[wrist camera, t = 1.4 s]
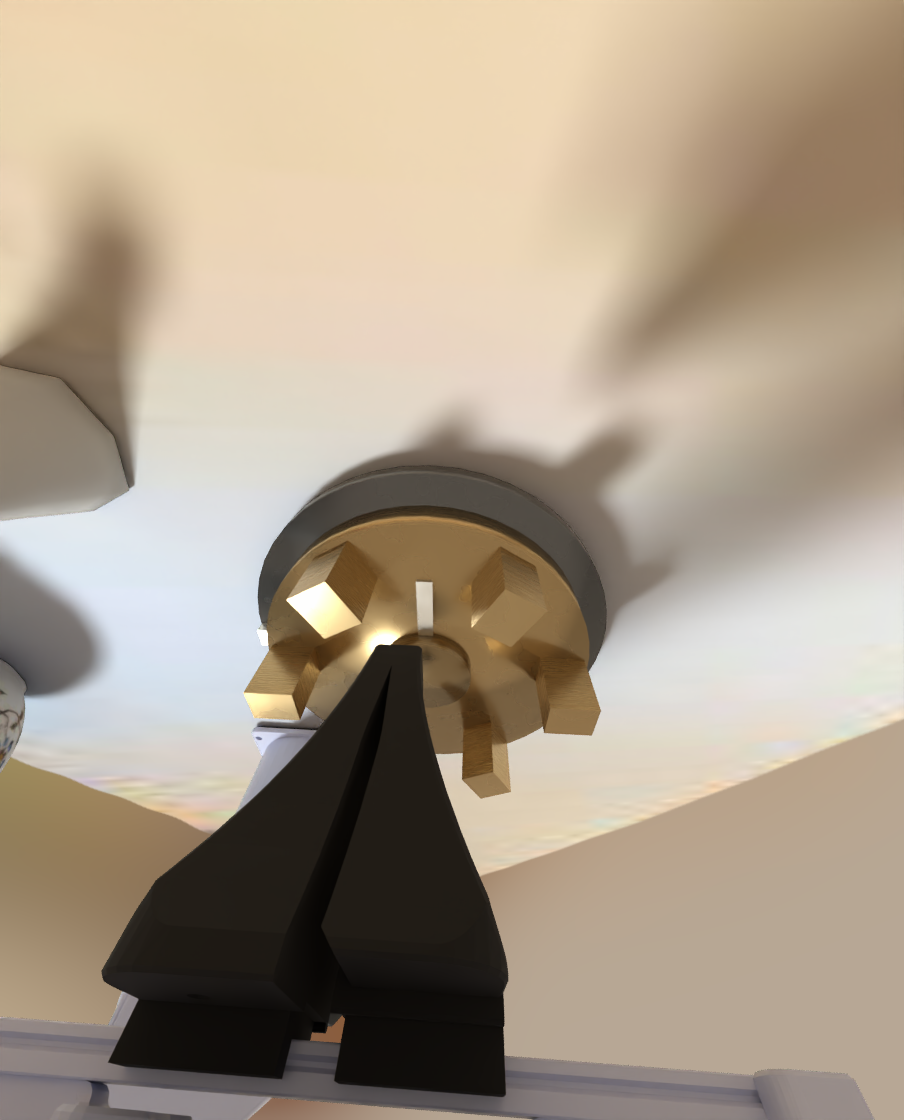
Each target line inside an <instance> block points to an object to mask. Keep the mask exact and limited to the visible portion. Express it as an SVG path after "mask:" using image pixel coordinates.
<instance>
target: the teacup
mask: <svg viewBox="0 0 904 1120" xmlns="http://www.w3.org/2000/svg"><path fill="white" fill-rule="evenodd" d="M26 690H27V688H26V684H25V681H24V680H23V679H22V678H21V677H20V675H19V674H18V673H17V672H16V671H15V670H14V669H13V668H12V667H11V666H10V665H9V664H7V663H6V662H4V661H2V660H0V773H1V771H2V770H3V768H4V767H5V765H6V763H7V762H8V760H9V758H10V757H11V755H12V753H13V751H14V749H15V747H16V745H17V743H18V740H19V738H20V735H21V732H22V728H23V723H24V718H25V700H24V693H25V691H26Z"/></svg>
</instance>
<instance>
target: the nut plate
mask: <svg viewBox="0 0 904 1120" xmlns="http://www.w3.org/2000/svg"><path fill="white" fill-rule="evenodd" d="M420 505H430V506H440V507H450V508H456V509H460V510H465V511H469V512H474V513H477V514H480V515H483V516H486V517H489V518H492V519H495V520H497V521H499V522H501V523H503V524H505V525H507V526H509V527H511V528H513V529H515V530H518V531H519V532H521V533H522V534H524V535H525V536H526V537H528V538H529V539H531V540H532V541H534V542H535V543H537V544H538V545H539V546H540V547H541V548H542V549H543V550H544V551H545V552H547V553H548V554H549V555H550V556H551V557H552V558H553V560H554V561H555V562H556V563H557V564H558V566H559V567H560V568H561V569H562V570H563V572H564V574H565V575H566V577H567V579H568V581H569V582H570V584H571V586H572V588H573V591H574V593H575V596H576V599H577V601H578V604H579V607H580V610H581V612H582V615H583V618H584V621H585V623H586V626H587V631H588V637H589V661H588V666H587V670H588V672H589V670H590V669H591V667H592V665H593V664H594V662H595V660H596V658H597V655H598V653H599V651H600V648H601V646H602V642H603V638H604V634H605V629H606V603H605V596H604V591H603V588H602V585H601V581H600V578H599V575H598V573H597V571H596V569H595V566H594V564H593V562H592V560H591V559H590V557H589V555H588V553H587V551H586V549H585V547H584V545H583V543H582V542H581V541H580V539H579V538H578V537H577V536H576V534H575V533H574V532H573V530H572V529H571V528H570V526H569V525H568V524H567V523H566V522H565V521H563V520H562V519H561V518H560V517H559V516H558V515H557V514H556V513H555V512H554V511H553V510H552V509H550V508H549V507H548V506H546V505H545V504H544V503H542V502H541V501H539V500H538V499H537V498H535V497H534V496H532V495H530V494H528V493H527V492H525V491H523V490H521V489H519V488H517V487H515V486H513V485H511V484H509V483H507V482H504V481H501V480H498V479H496V478H493V477H490V476H487V475H485V474H481V473H476V472H472V471H467V470H463V469H459V468H450V467H439V466H402V467H396V468H390V469H384V470H378V471H374V472H370V473H367V474H364V475H361V476H357V477H354V478H351V479H349V480H347V481H345V482H343V483H340V484H338V485H336V486H334V487H332V488H330V489H328V490H327V491H325V492H324V493H322V494H321V495H319V496H318V497H316V498H315V499H313V500H312V501H310V502H309V503H308V504H307V505H306V506H305V507H304V508H303V509H302V510H301V511H300V512H299V513H298V514H297V515H295V516H294V518H293V519H292V520H291V521H290V522H289V523H288V524H287V526H286V527H285V528H284V529H283V531H282V532H281V533H280V535H279V536H278V537H277V539H276V540H275V541H274V543H273V544H272V546H271V548H270V550H269V552H268V554H267V556H266V558H265V560H264V564H263V567H262V571H261V574H260V578H259V587H258V605H259V615H260V618H261V622H262V624H261V626H260V627H259V629H258V630H257V632H258V634H259V637H260V640H261V643H262V645H268V641H267V620H268V612H269V609H270V606H271V603H272V600H273V597H274V595H275V593H276V591H277V590H278V588H279V586H280V584H281V582H282V581H283V580H284V578H285V577H286V575H287V574H288V573H289V571H290V570H291V568H292V567H293V566H294V564H295V563H296V561H297V560H298V559H299V558H300V556H301V555H302V554H303V553H304V551H305V550H306V549H307V548H308V547H309V546H310V545H311V544H312V543H313V542H314V541H316V540H317V539H318V538H319V537H320V536H321V535H323V534H324V533H326V532H327V531H329V530H331V529H332V528H334V527H335V526H337V525H339V524H341V523H343V522H345V521H347V520H350V519H352V518H354V517H357V516H359V515H362V514H366V513H369V512H373V511H376V510H380V509H386V508H393V507H400V506H420Z"/></svg>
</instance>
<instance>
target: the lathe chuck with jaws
mask: <svg viewBox="0 0 904 1120" xmlns="http://www.w3.org/2000/svg"><path fill="white" fill-rule="evenodd" d="M267 641H268V646H269V652H268V653H267V655H266V657H265V658H264V660H263V662H262V663H261V665H260V666H259V668H258V670H257V671H256V673H255V675H254V676H253V678H252V680H251V681H250V683H249V685H248V686H247V688H246V690H245V691H244V695H245V697H246V700H247V702H248V704H249V707H250V709H251V711H252V714H253V716H254V718H268V719H287V720H300V719H301V716H302V714H303V712H304V709H305V707H307V708H308V709H309V710H311V711H312V712H313V713H315V714H316V715H317V716H318V717H320V718H321V719H323V720H324V721H325V720H326V718H327V717H328V716H329V715H330V713H331V712H332V711H333V710H334V708H335V707H336V706H337V704H338V703H339V702H340V700H341V699H342V698H343V696H344V695H345V693H346V692H347V691H348V689H349V688H350V686H351V685H352V683H353V682H354V681H355V679H356V678H357V676H358V675H359V673H360V672H361V670H362V668H363V667H364V665H365V664H366V662H367V660H368V659H369V657H370V655H371V654H372V652H373V650H374V648H375V647H376V646H377V645H378V644H393V645H414V646H419V647H421V648H422V659H423V699H424V705H425V711H426V716H427V721H428V726H429V730H430V735H431V739H432V743H433V747H434V751H435V754H452V753H463V766H462V780H463V781H464V782H465V783H466V784H467V785H468V786H469V787H470V788H471V789H472V790H473V791H474V792H475V793H476V794H477V795H478V796H479V797H480V798H485V797H490V796H494V795H499V794H503V793H508V792H511V789H510V776H509V763H508V751H507V743H510V742H513V741H515V740H517V739H520V738H522V737H525V736H527V735H528V734H530V733H532V732H534V731H536V730H538V729H540V728H541V727H542V726H543V729H544V733H554V734H574V735H592V733H593V731H594V728H595V725H596V723H597V720H598V717H599V715H600V712H601V710H600V707H599V704H598V701H597V697H596V694H595V691H594V688H593V685H592V682H591V679H590V676H589V673H588V670H587V666H588V661H589V637H588V631H587V626H586V623H585V621H584V618H583V615H582V612H581V610H580V607H579V604H578V601H577V599H576V596H575V593H574V591H573V588H572V586H571V584H570V582H569V581H568V579H567V577H566V575H565V574H564V572H563V570H562V569H561V568H560V567H559V566H558V564H557V563H556V562H555V561H554V560H553V558H552V557H551V556H550V555H549V554H548V553H547V552H545V551H544V550H543V549H542V548H541V547H540V546H539V545H538V544H537V543H535V542H534V541H532V540H531V539H529V538H528V537H526V536H525V535H524V534H522V533H521V532H519V531H518V530H515V529H513V528H511V527H509V526H507V525H505V524H503V523H501V522H499V521H497V520H495V519H492V518H489V517H486V516H483V515H480V514H477V513H474V512H469V511H465V510H460V509H456V508H450V507H440V506H430V505H420V506H400V507H393V508H386V509H380V510H376V511H373V512H369V513H366V514H362V515H359V516H357V517H354V518H352V519H350V520H347V521H345V522H343V523H341V524H339V525H337V526H335V527H334V528H332V529H331V530H329V531H327V532H326V533H324V534H323V535H321V536H320V537H319V538H318V539H317V540H316V541H314V542H313V543H312V544H311V545H310V546H309V547H308V548H307V549H306V550H305V551H304V553H303V554H302V555H301V556H300V558H299V559H298V560H297V561H296V563H295V564H294V566H293V567H292V568H291V570H290V571H289V573H288V574H287V575H286V577H285V578H284V580H283V581H282V582H281V584H280V586H279V588H278V590H277V591H276V593H275V595H274V597H273V600H272V603H271V606H270V609H269V612H268V620H267Z"/></svg>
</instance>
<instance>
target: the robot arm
mask: <svg viewBox="0 0 904 1120" xmlns="http://www.w3.org/2000/svg"><path fill="white" fill-rule="evenodd" d="M251 733H252V736H253V738H254V740H255V742H256V745H257V747H258V749H259V751H260V753H261V756H262V759H261V761H260V763H259V765H258V767H257V769H256V771H255V773H254V775H253V777H252V780H251V782H250V784H249V786H248V788H247V790H246V792H245V794H244V796H243V799H242V801H241V803H240V805H239V807H238V809H237V811H236V813H235V815H234V816H232V817H231V818H230V819H229V820H228V821H227V822H226V823H225V824H224V825H223V826H221V827H220V828H219V829H218V830H217V831H216V832H215V833H213V834H212V835H211V836H210V837H209V838H208V839H206V840H205V841H204V842H203V843H201V844H200V845H199V846H198V847H196V848H195V849H194V850H193V851H192V852H190V853H189V854H188V855H187V856H185V857H184V858H183V859H182V860H181V861H179V862H178V863H177V864H176V865H174V866H173V867H172V868H171V869H169V870H168V871H167V872H166V873H165V874H163V875H162V876H161V877H159V878H158V879H157V880H156V881H155V883H154V884H153V886H152V887H151V889H150V890H149V892H148V893H147V895H146V897H145V898H144V899H143V901H142V902H141V904H140V905H139V907H138V908H137V910H136V911H135V913H134V915H133V916H132V918H131V920H130V921H129V923H128V925H127V927H126V929H125V930H124V932H123V934H122V936H121V937H120V939H119V941H118V943H117V944H116V946H115V948H114V950H113V952H112V953H111V955H110V957H109V959H108V960H107V962H106V964H105V966H104V968H103V969H102V976H103V980H104V981H105V982H106V983H107V984H109V985H111V986H113V987H115V988H117V989H119V990H121V991H122V993H121V995H120V998H119V1000H118V1003H117V1007H116V1010H115V1012H114V1014H113V1016H112V1018H111V1020H110V1022H109V1024H108V1025H101V1024H88V1023H75V1022H61V1021H49V1020H37V1019H24V1018H11V1017H0V1120H248V1119H249V1118H250V1117H251V1116H252V1115H253V1114H255V1113H256V1112H257V1111H258V1110H259V1109H260V1108H261V1107H262V1106H263V1105H265V1104H266V1103H267V1102H268V1101H269V1100H270V1099H271V1098H285V1099H295V1100H296V1099H297V1100H307V1101H320V1102H332V1103H344V1104H356V1105H368V1106H380V1107H393V1108H405V1109H417V1110H430V1111H441V1112H453V1113H465V1114H477V1115H490V1116H502V1117H514V1118H527V1119H533V1120H875V1119H874V1117H873V1116H872V1113H871V1112H870V1109H869V1107H868V1106H867V1103H866V1102H865V1099H864V1097H863V1095H862V1093H861V1092H860V1089H859V1087H858V1085H857V1083H856V1081H855V1080H854V1079H853V1078H851V1077H850V1076H849V1075H848V1074H844V1073H831V1072H818V1071H805V1070H792V1069H767V1070H761V1071H757V1072H755V1074H754V1075H744V1074H731V1073H718V1072H706V1071H693V1070H680V1069H667V1068H654V1067H642V1066H629V1065H616V1064H603V1063H589V1062H576V1061H564V1060H551V1059H539V1058H526V1057H525V1058H524V1057H513V1056H504V1034H503V1027H504V999H503V992H504V989H505V987H506V984H507V982H508V968H507V962H506V956H505V952H504V949H503V945H502V942H501V938H500V935H499V931H498V928H497V925H496V921H495V918H494V915H493V911H492V908H491V905H490V901H489V898H488V895H487V892H486V890H485V888H484V886H483V883H482V881H481V879H480V877H479V874H478V872H477V870H476V867H475V865H474V862H473V860H472V858H471V855H470V853H469V850H468V848H467V845H466V843H465V840H464V838H463V835H462V833H461V830H460V827H459V824H458V822H457V819H456V816H455V813H454V811H453V808H452V805H451V802H450V799H449V797H448V794H447V791H446V788H445V785H444V781H443V778H442V775H441V772H440V768H439V765H438V761H437V758H436V754H435V751H434V747H433V743H432V739H431V735H430V730H429V726H428V721H427V716H426V711H425V705H424V699H423V659H422V648H421V647H419V646H414V645H393V644H378V645H377V646H376V647H375V648H374V650H373V652H372V654H371V655H370V657H369V659H368V660H367V662H366V664H365V665H364V667H363V668H362V670H361V672H360V673H359V675H358V676H357V678H356V679H355V681H354V682H353V683H352V685H351V686H350V688H349V689H348V691H347V692H346V693H345V695H344V696H343V698H342V699H341V700H340V702H339V703H338V704H337V706H336V707H335V708H334V710H333V711H332V712H331V713H330V715H329V716H328V717H327V718H326V720H325V721H324V722H323V724H322V725H321V726H320V727H319V729H318V730H303V729H284V728H265V727H256V728H254V729H253V731H252V732H251ZM342 1015H343V1017H344V1018H345V1023H344V1028H343V1034H342V1039H341V1043H333V1042H320V1041H310V1039H311V1034H312V1032H314V1033H326V1031H327V1027H328V1026H332V1025H334V1024H335V1022H336V1021H337V1020H338V1019H339V1018H340V1017H341V1016H342Z"/></svg>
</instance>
